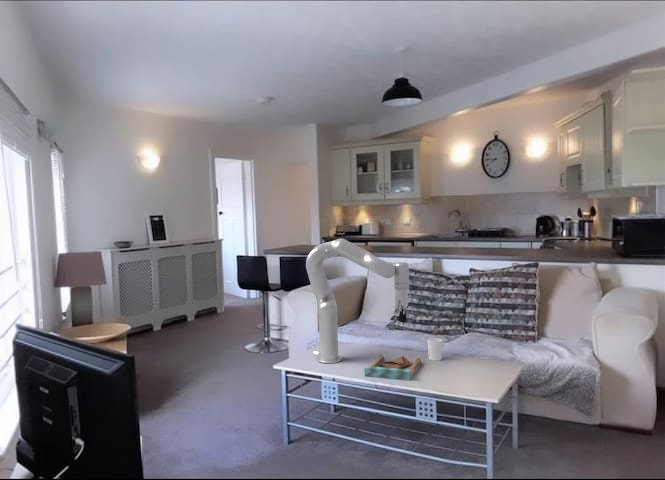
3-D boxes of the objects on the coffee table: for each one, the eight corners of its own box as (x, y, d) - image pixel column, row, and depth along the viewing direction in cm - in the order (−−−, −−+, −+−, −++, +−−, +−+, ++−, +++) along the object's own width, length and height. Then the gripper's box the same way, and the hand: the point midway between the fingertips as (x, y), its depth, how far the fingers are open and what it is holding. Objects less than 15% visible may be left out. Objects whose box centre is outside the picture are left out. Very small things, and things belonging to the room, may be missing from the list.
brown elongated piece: (393, 373, 230) (387, 360, 233) (383, 378, 235) (377, 365, 237) (416, 364, 243) (410, 351, 245) (406, 369, 248) (400, 356, 250)
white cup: (443, 361, 247) (443, 341, 246) (427, 361, 248) (427, 341, 248) (443, 357, 255) (442, 337, 254) (427, 356, 256) (427, 337, 256)
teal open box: (364, 376, 228) (364, 367, 228) (380, 360, 253) (380, 352, 253) (409, 380, 220) (409, 371, 220) (421, 363, 245) (421, 355, 245)
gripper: (398, 284, 262) (399, 318, 263) (390, 288, 248) (391, 324, 249) (412, 284, 260) (413, 318, 261) (405, 288, 245) (406, 325, 246)
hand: (402, 321), depth 255 cm, fingers closed
